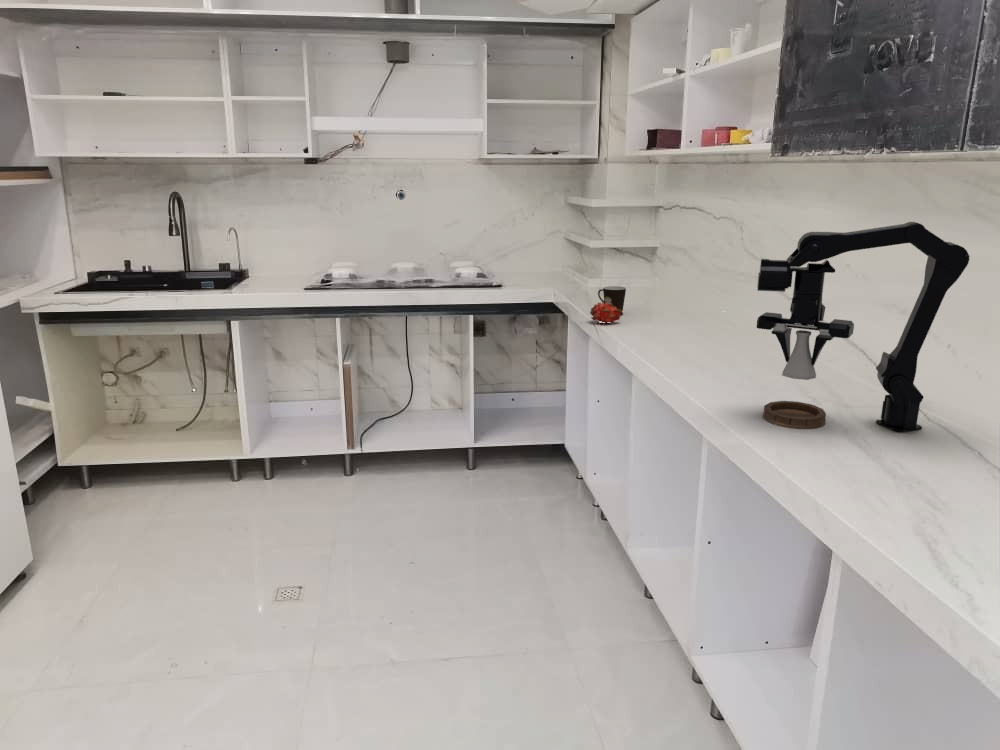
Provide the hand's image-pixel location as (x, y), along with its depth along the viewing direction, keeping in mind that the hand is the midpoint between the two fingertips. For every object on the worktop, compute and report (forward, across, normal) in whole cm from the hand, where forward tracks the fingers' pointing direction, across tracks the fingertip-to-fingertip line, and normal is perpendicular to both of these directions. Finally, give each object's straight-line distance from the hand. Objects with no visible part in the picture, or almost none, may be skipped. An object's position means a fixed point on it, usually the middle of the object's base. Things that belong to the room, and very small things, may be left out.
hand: (800, 363), depth 159 cm
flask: (+3, 0, 0) cm, 3 cm away
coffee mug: (+13, +87, -85) cm, 123 cm away
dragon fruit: (+13, +81, -68) cm, 106 cm away
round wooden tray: (+12, 0, +1) cm, 13 cm away
